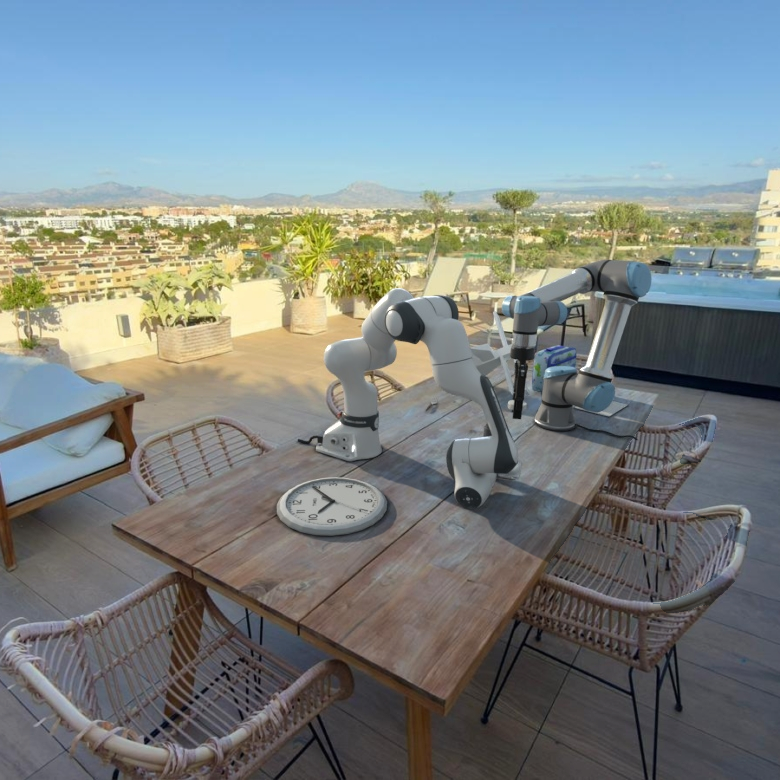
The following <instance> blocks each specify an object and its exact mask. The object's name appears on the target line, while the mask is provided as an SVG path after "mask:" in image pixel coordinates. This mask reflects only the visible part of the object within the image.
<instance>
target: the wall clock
mask: <svg viewBox="0 0 780 780" xmlns="http://www.w3.org/2000/svg"><path fill="white" fill-rule="evenodd" d="M387 509H388V500H387V498H386V496H385V494H384V493H383V492H382V491H381V490H380V489H379V488H377V487H376V486H374V485H372V484H371V483H369V482H365V481H362V480H359V479H355V478H349V477H338V476H337V477H335V476H333V477H332V476H331V477H322V478H317V479H312V480H307V481H305V482H302V483H299V484H297V485H295V486H293V487H292V488H290V489H288V490H287V491H286V492H285V493H284V494H283V495H281V496H280V498H279V499H278V502H277V503H276V515H277V517H278V518H279V520H280V521H281V522H282V523H283V524H285V525H286V526H287V527H288V528H290V529H293V530H295V531H297V532H299V533H303V534H308V535H312V536H327V537H328V536H329V537H331V536H332V537H333V536H342V535H350V534H352V533H356V532H361V531H363V530H366V529H368V528H369V527H372V526H373V525H375V524H376V523H378V522H379V521H380V520H381V519H382V518H383V517H384V516H385V514H386V512H387Z"/></svg>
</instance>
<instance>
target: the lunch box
mask: <svg viewBox="0 0 780 780" xmlns="http://www.w3.org/2000/svg"><path fill="white" fill-rule="evenodd" d="M576 362H577V348H576V347H571V346H565V345H553V346H550V347H546V348H545V349H542V350H539V351H538V352H537V353H535V357H534V359H533V365H532V376H531V377H532V378H531V390H532V391H533V392H537V393H541V394H542V391H543V380H544V379H543V378H544V375H545V370H546V369H547V368H549V367H555V366H570V367H575V368H576V364H577V363H576Z"/></svg>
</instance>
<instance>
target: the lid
mask: <svg viewBox="0 0 780 780" xmlns="http://www.w3.org/2000/svg"><path fill="white" fill-rule="evenodd" d="M527 405H528V404H527V402H526V401H525V400H523V407H522V412H524V411H526V410H527ZM513 408H514V400H513V399H511V400H508V402H507V409H509V410H510V411H512V410H513Z"/></svg>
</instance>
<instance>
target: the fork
mask: <svg viewBox="0 0 780 780" xmlns="http://www.w3.org/2000/svg"><path fill="white" fill-rule="evenodd" d="M438 401H439V398H438V397H435V396H433V398H432V399H431V401H430V404H429V405H428V406H427V408H426V409H425V412H427V411H428V410H429V409H431V408H432V406H433V405H437V404H438Z"/></svg>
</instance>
